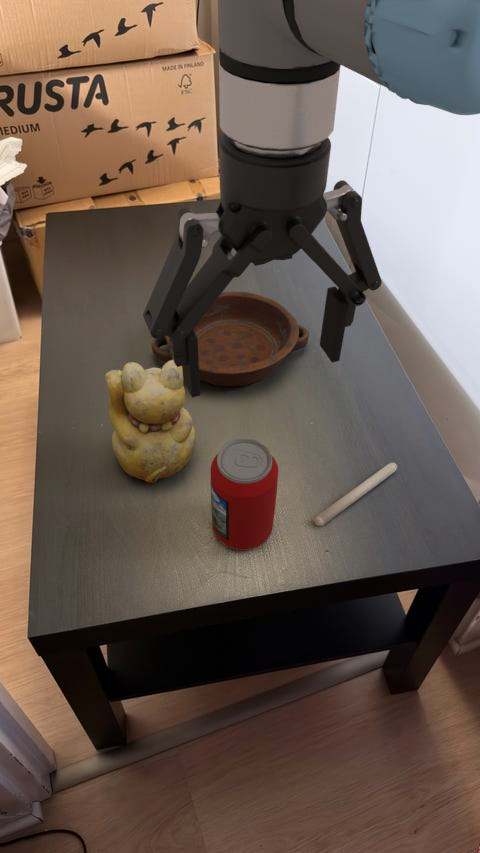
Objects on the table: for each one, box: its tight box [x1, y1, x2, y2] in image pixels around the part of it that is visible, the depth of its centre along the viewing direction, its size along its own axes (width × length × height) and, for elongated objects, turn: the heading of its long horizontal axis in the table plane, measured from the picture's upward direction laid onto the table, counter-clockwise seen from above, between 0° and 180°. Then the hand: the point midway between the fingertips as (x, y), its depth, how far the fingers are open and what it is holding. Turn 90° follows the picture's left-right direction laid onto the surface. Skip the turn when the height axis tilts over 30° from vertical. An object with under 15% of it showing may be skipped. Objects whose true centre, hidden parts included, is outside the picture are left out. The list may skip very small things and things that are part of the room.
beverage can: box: [209, 437, 279, 551], centre depth 65 cm, size 7×7×12 cm
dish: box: [151, 291, 310, 387], centre depth 86 cm, size 18×22×5 cm
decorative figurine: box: [104, 360, 197, 483], centre depth 69 cm, size 10×8×15 cm
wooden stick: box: [314, 461, 398, 527], centre depth 72 cm, size 1×13×1 cm, turn 130°
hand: (262, 369), depth 57 cm, fingers open, 13 cm apart
